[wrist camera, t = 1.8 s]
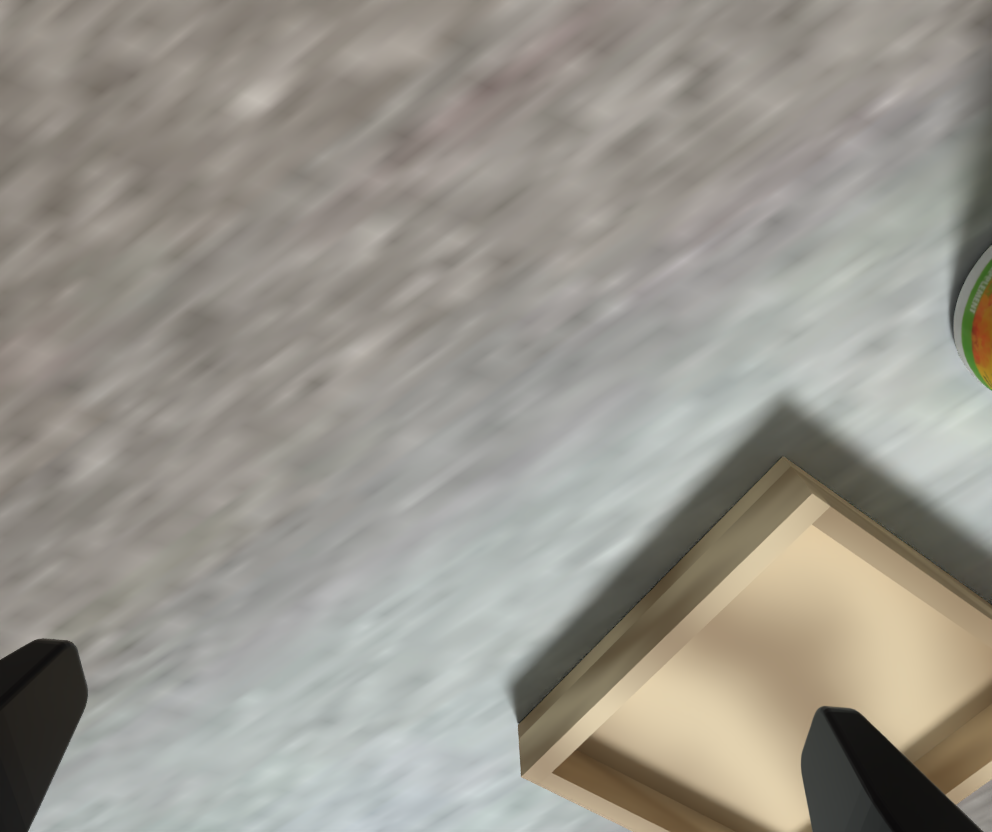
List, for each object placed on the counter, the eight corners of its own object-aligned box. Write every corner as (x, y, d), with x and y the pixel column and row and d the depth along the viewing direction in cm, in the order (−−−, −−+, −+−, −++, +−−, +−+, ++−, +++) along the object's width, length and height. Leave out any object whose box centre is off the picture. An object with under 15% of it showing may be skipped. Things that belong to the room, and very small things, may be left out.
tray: (782, 860, 30) (803, 914, 28) (518, 725, 26) (521, 776, 24) (1056, 651, 25) (1103, 698, 23) (783, 455, 22) (812, 493, 20)
